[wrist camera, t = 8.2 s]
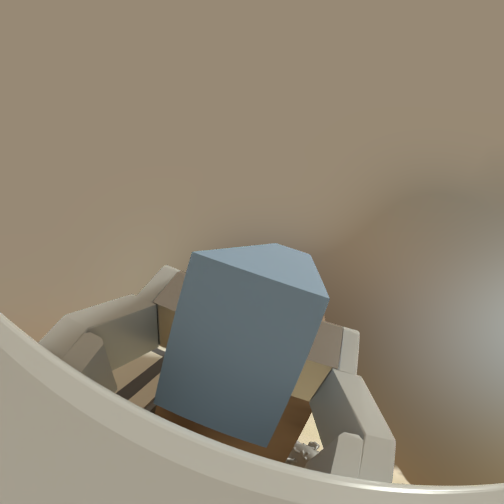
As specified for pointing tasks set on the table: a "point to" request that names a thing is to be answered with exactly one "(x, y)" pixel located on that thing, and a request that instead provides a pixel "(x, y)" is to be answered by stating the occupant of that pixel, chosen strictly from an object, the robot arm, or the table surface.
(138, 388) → the stand
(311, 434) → the table surface
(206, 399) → the blue bar
